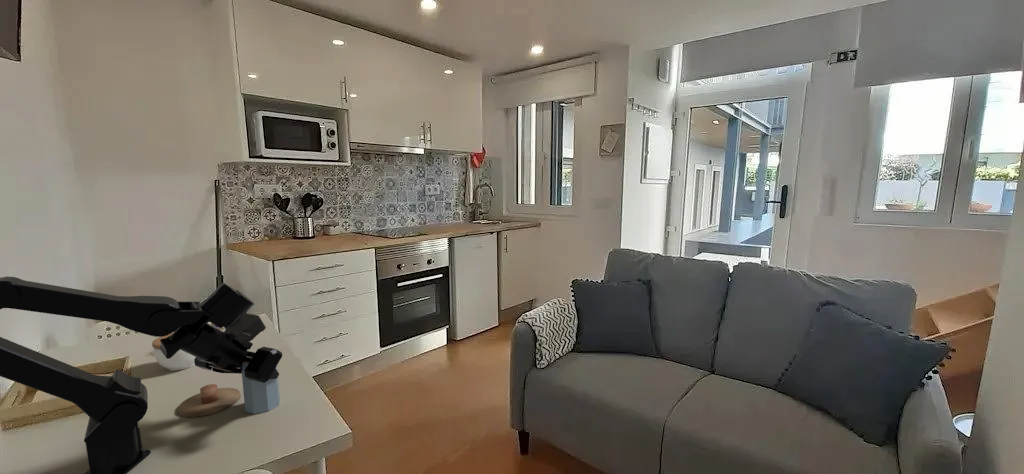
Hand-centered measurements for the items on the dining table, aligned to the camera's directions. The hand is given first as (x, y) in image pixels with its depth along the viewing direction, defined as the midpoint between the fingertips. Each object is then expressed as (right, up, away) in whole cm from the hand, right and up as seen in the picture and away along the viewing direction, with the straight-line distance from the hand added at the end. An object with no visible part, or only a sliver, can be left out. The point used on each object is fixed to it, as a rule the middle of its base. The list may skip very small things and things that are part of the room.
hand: (266, 373), depth 91 cm
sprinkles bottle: (-32, -2, +33) cm, 46 cm away
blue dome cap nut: (0, -7, 0) cm, 7 cm away
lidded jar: (-33, -4, +19) cm, 38 cm away
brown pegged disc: (-13, -7, +1) cm, 14 cm away
